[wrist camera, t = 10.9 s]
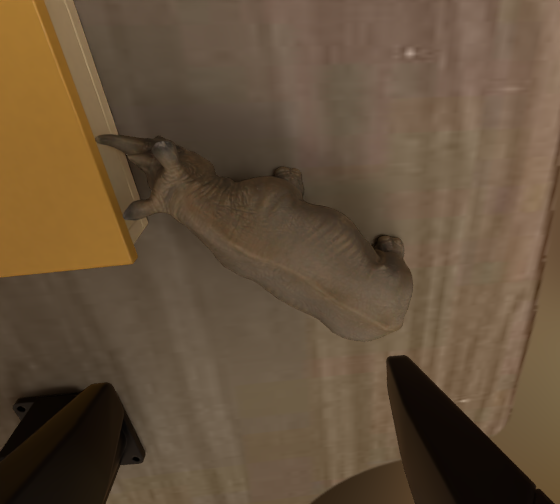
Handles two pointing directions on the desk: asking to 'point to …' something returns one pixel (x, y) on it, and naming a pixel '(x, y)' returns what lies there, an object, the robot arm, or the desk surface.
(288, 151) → the desk surface
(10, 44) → the cover
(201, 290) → the desk surface
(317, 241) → the rhino figurine
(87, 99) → the wooden box
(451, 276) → the desk surface
